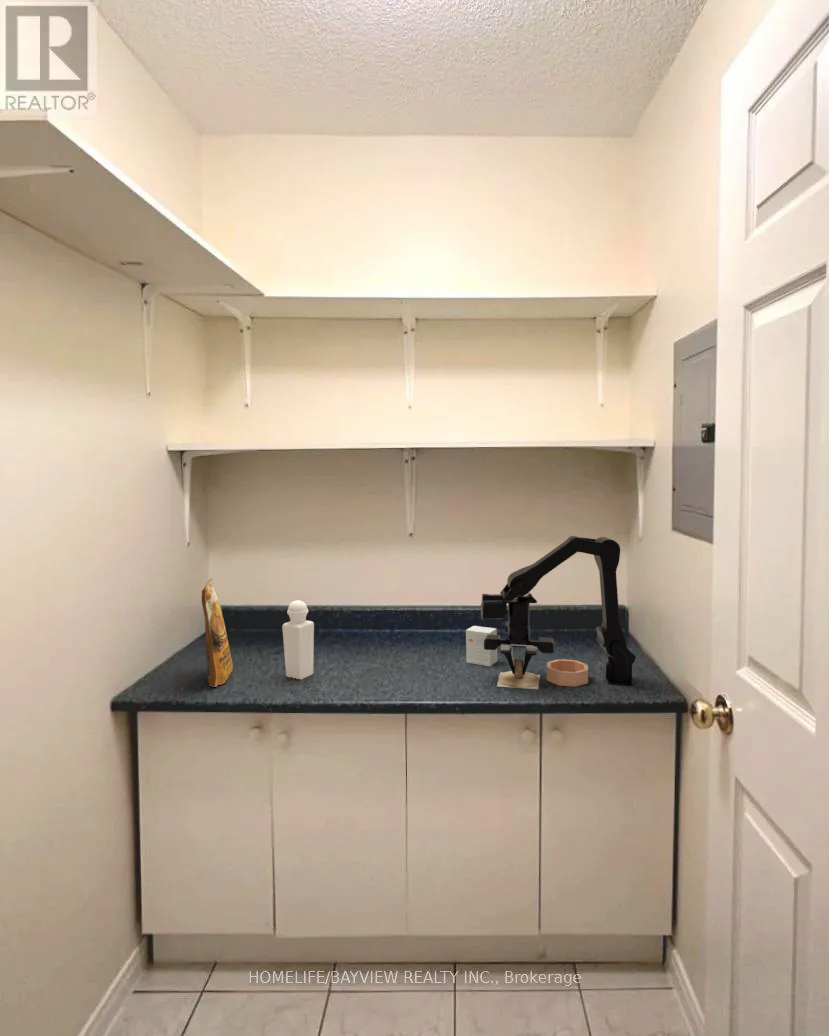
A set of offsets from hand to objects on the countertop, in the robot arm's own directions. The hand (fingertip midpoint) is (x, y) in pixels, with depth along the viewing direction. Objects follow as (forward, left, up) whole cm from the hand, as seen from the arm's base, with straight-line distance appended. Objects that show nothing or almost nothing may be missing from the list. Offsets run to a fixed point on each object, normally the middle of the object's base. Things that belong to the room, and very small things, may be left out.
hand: (518, 674), depth 169 cm
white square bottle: (+62, +7, -2) cm, 62 cm away
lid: (0, 0, -2) cm, 2 cm away
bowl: (-13, -4, -2) cm, 14 cm away
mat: (0, 0, -2) cm, 2 cm away
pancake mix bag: (+84, +14, -2) cm, 85 cm away
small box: (+12, -14, -2) cm, 19 cm away
